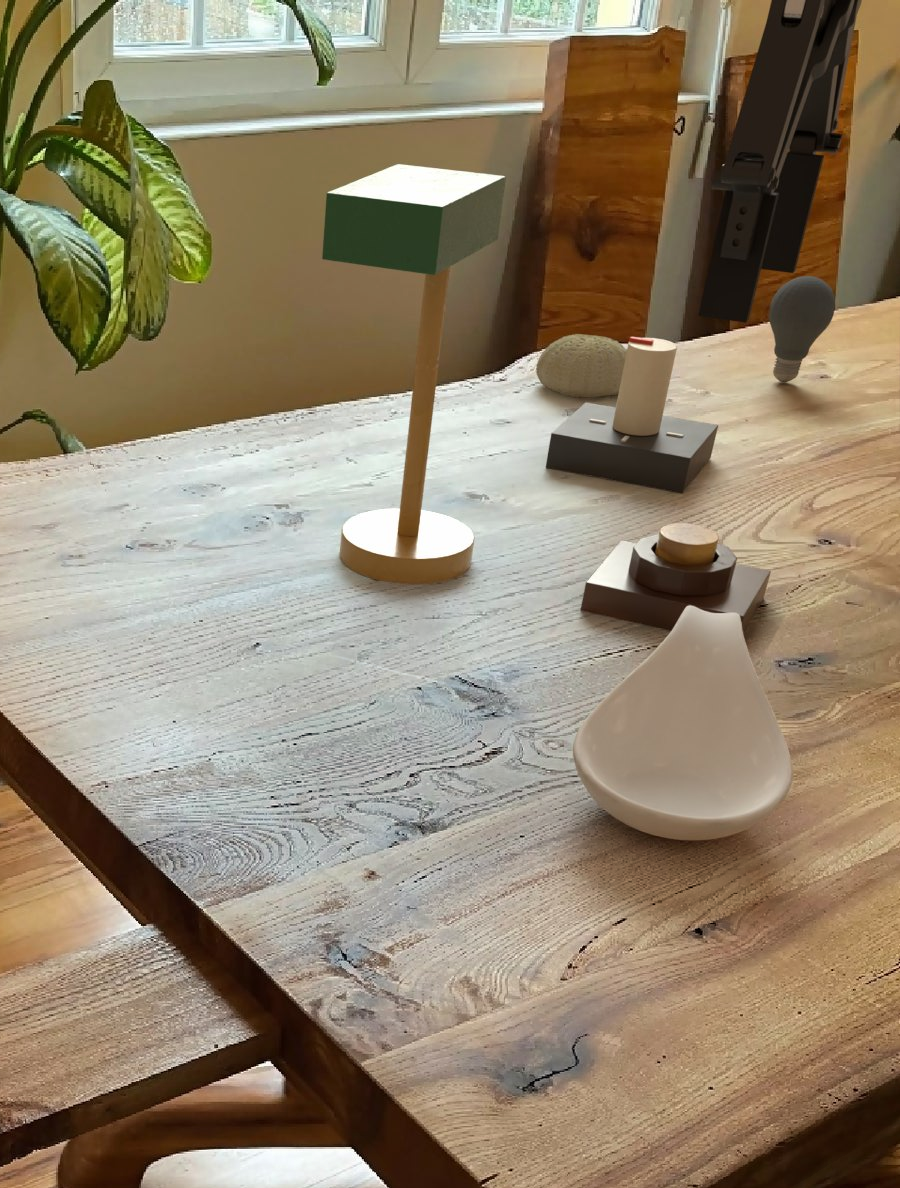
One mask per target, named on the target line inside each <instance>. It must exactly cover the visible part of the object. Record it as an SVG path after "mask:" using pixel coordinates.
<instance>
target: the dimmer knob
mask: <svg viewBox="0 0 900 1188" xmlns="http://www.w3.org/2000/svg"><path fill="white" fill-rule="evenodd" d="M626 349H627V353H626V358H625V363H624V368H623V373H622V379H621V384H620V389H619V393H617V395H618V396H617V400H616V406H615V408H616V410H615V415H614V420H613V425H612V426H613V428H614V429H615V430H617V431H619V432H621V433H624V434H629V435H636V436H648V435H654V434H656V433H658V432H659V430H660V425H661V421H662V416H664V410H665V406H666V402H667V398H668V392H669V387H670V383H671V378H672V375H673V368H674V364H675V359H676V356H677V350H678V345H677V344H676V343H674V342H672V341H670V340H666V339H662V338H656V337H638V336H630V337H629V340H628V343H627V348H626Z"/></svg>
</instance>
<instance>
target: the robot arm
mask: <svg viewBox="0 0 900 1188" xmlns="http://www.w3.org/2000/svg"><path fill="white" fill-rule="evenodd" d="M862 2H863V0H771V1H770V5H769V9H768V14H767V17H766V22H765V25H764V28H763V32H762V35H761V39H760V42H759V46H758V49H757V53H756V56H755V59H754V63H753V66H752V70H751V73H750V76H749V79H748V83H747V86H746V89H745V93H744V96H743V100H742V103H741V107H740V110H739V113H738V117H737V120H736V124H735V127H734V129H733V134H732V137H731V141H730V143H729V147H728V150H727V154H726V157H725V160H724V164H722V165H721V168H720V170H718V169H715V170H714V172H713V175H712V180H711V190H718V191H724V196H723V200H722V205H721V209H720V214H719V218H718V223H717V227H716V233H715V238H714V242H713V246H712V251H711V256H710V260H709V264H708V268H707V269H708V270H707V274H706V279H705V282H704V287H703V292H702V297H701V300H700V306H699V310H698V317H703V318H711V319H716V320H724V321H730V322H738V323H747V322H749V320H750V317H751V312H752V309H753V304H754V301H755V296H756V292H757V287H758V284H759V279H760V275H761V271H762V270H766V271H773V272H781V273H789V274H794V273H795V272H796V269H797V266H798V261H799V257H800V253H801V250H802V245H803V241H804V237H805V234H806V229H807V226H808V222H809V218H810V214H811V210H812V206H813V201H814V198H815V194H816V189H817V185H818V182H819V178H820V175H821V170H822V167H823V163H824V159H825V154H817V153H826V154H834V155H835V154H836V155H837V154H838V152H839V150H840V146H841V143H842V138H843V133H835V132H836V130H837V129H838V125H839V120H838V117H839V111H840V108H841V107H840V106H841V102H842V95H843V92H844V91H843V90H844V85H845V81H846V75H847V69H848V64H849V58H850V55H851V54H850V53H851V49H852V48H851V47H852V42H853V37H854V32H855V28H856V27H855V26H856V22H857V16H858V13H859V11H860V8H861V5H862Z"/></svg>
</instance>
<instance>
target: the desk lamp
mask: <svg viewBox="0 0 900 1188" xmlns="http://www.w3.org/2000/svg"><path fill="white" fill-rule="evenodd" d="M506 180H507V176H505V175H499V174H490V173H481V172H472V171H464V170H453V169H445V168H435V167H428V166H419V165H411V164H401V163H397V164H395V165H392V166H390V167H386V168H385V169H382V170H379V171H377V172H375V173H373V174H371V175H370V174H369V175H367V176H364V177H363V178H360V179H358V180H355V181H352V182H350V183H347V184H346V185H342V186H340V187H338V188H335V189H333V190H330V191H328V192H326V198H325V209H324V213H325V214H324V227H323V240H322V241H323V242H322V253H321V254H322V257H321V259H322V260H324V261H331V262H337V263H338V262H339V263H346V264H353V265H359V266H366V267H374V268H381V269H388V270H394V271H401V272H409V273H416V274H422V275H424V284H423V293H422V302H421V309H420V311H421V312H420V318H419V319H420V321H419V328H418V329H419V330H418V339H417V346H416V347H417V349H416V358H415V367H414V374H413V383H412V392H411V393H412V394H411V402H410V411H409V412H410V413H409V421H408V431H407V440H406V448H405V457H404V466H403V475H402V476H403V477H402V485H401V494H400V503H399V508H398V507H397V508H381V509H374V510H369V511H365V512H361V513H358V514H356V515H354V516H352V517H350V518H349V519H347V520H346V521H345V522H344V524H343V525H342V527H341V534H340V545H339V546H340V547H339V558H340V560H341V562H342V564H344V565H345V566H346V567H347V568H348V569H350V570H351V571H353V572H355V573H357V574H359V575H361V576H364V577H366V578H370V579H373V580H377V581H383V582H387V583H394V584H395V583H396V584H405V585H406V584H407V585H425V584H426V585H427V584H436V583H441V582H447V581H449V580H454V579H455V578H458V577H461V576H462V575H463V574H465V573H466V572H467V571H468V570H469V569H470V567H471V565H472V560H473V559H472V558H473V551H474V547H475V545H474V544H475V535H474V531H472V529H471V528H470V527H469V526H468V525H467V524H465V523H463V522H462V521H460V520H458V519H456V518H454V517H451V516H449V515H446V514H442V513H438V512H434V511H428V510H424V509H422V507H423V499H424V491H425V482H426V476H427V475H426V473H427V467H428V466H427V464H428V456H429V449H430V440H431V431H432V423H433V415H434V406H435V398H436V388H437V383H438V382H437V381H438V372H439V363H440V354H441V347H442V340H443V339H442V338H443V330H444V329H443V328H444V322H445V313H446V305H447V297H448V289H449V287H448V286H449V279H450V271H451V267H452V266H454V265H456V264H457V263H459V262H462V260H465V259H466V258H468V257H470V256H472V255H473V254H475V253H476V252H478V251H480V250H482V249H484V248H486V247H487V246H490V245H491V244H492V243H495V242H496V241H498V239H499V233H500V232H499V231H500V225H501V218H502V211H503V210H502V209H503V203H504V195H505V187H506V182H507V181H506Z"/></svg>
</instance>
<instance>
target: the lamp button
mask: <svg viewBox="0 0 900 1188" xmlns="http://www.w3.org/2000/svg"><path fill="white" fill-rule="evenodd" d="M658 534H659V538H658V542H657V547H656V551H655V555H656V556H658V557H660V558H662V559H664V560H666V561H668V562H673V563H677V564H682V565H706V564H710V563H712V562H713V560H714V556H715V552H716V548H717V544H718V543H719V540H720V536H719V534H718V533H717V532H716V531H715V530H713V529H711V528H709V527H706V526H703V525H699V524H695V523H688V522H674V523H668V524H666V525H664V526H662V527H661V528H660V529H659V533H658Z"/></svg>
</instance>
